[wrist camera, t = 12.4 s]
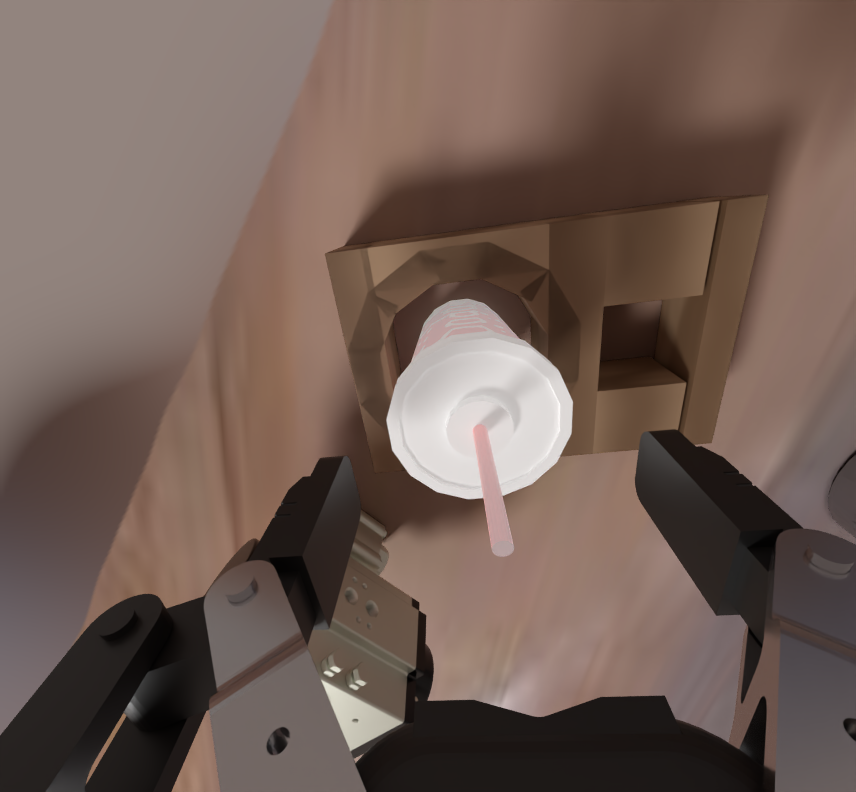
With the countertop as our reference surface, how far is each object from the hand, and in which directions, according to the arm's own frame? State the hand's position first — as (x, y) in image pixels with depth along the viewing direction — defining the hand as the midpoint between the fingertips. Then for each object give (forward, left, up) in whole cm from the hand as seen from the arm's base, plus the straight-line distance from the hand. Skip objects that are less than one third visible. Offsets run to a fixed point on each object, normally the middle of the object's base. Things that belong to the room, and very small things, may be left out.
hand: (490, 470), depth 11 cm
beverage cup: (0, 0, -11) cm, 11 cm away
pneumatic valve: (+8, +12, -11) cm, 18 cm away
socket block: (-3, 0, -11) cm, 12 cm away
